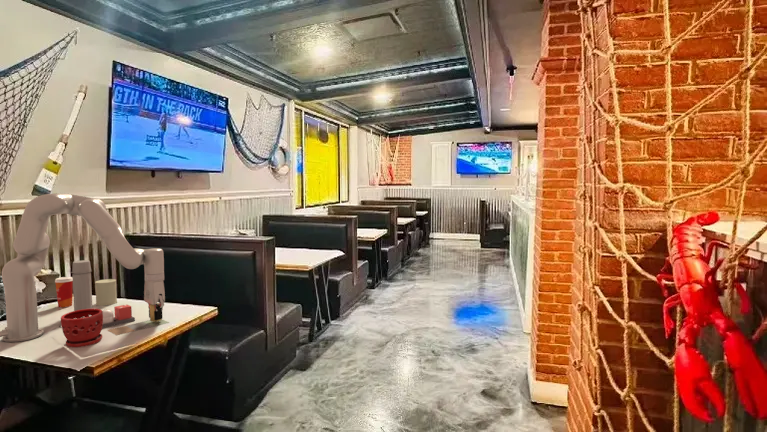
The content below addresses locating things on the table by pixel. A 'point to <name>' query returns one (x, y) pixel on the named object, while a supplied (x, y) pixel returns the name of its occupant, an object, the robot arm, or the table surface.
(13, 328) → the robot arm
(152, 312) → the tan cylinder
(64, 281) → the paper cup
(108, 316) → the dome
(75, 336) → the plant pot
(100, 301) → the can
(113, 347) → the table surface
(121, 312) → the popper base
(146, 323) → the game board
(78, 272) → the water bottle
